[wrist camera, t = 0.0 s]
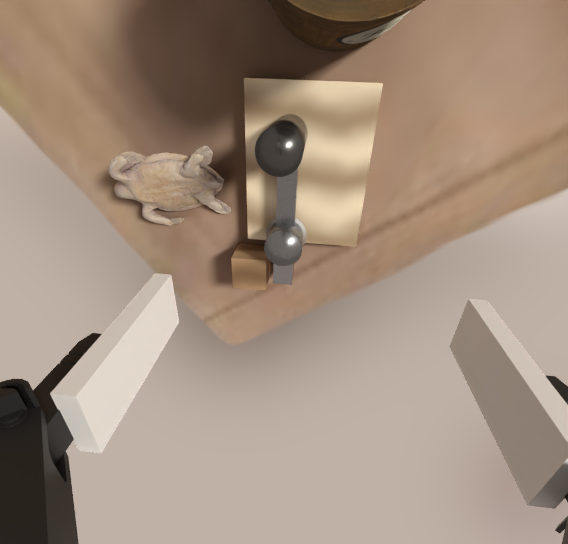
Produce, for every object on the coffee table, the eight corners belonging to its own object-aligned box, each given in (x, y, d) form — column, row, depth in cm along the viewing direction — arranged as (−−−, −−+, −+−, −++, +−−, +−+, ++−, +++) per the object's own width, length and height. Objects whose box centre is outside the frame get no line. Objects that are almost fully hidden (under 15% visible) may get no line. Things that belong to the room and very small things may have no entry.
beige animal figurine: (222, 129, 40) (178, 106, 31) (256, 197, 41) (222, 195, 32) (133, 189, 45) (72, 184, 36) (165, 249, 46) (112, 260, 36)
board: (247, 78, 35) (243, 77, 33) (379, 83, 34) (383, 83, 32) (250, 243, 44) (247, 250, 43) (352, 250, 44) (354, 258, 42)
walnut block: (238, 242, 45) (231, 258, 41) (270, 245, 44) (266, 260, 41) (239, 270, 47) (232, 287, 43) (270, 273, 47) (265, 290, 43)
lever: (300, 274, 43) (295, 327, 34) (268, 271, 44) (254, 323, 34) (311, 114, 34) (308, 127, 24) (270, 113, 34) (250, 124, 24)
